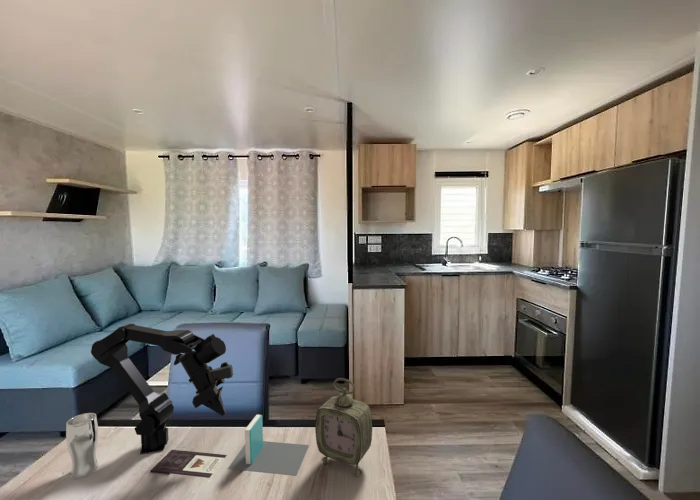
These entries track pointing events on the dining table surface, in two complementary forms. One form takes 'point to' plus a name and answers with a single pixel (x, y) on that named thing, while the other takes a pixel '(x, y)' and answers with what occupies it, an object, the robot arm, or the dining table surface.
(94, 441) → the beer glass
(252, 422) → the tile
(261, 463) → the mat
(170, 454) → the chocolate bar
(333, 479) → the dining table surface
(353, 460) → the tabletop clock
